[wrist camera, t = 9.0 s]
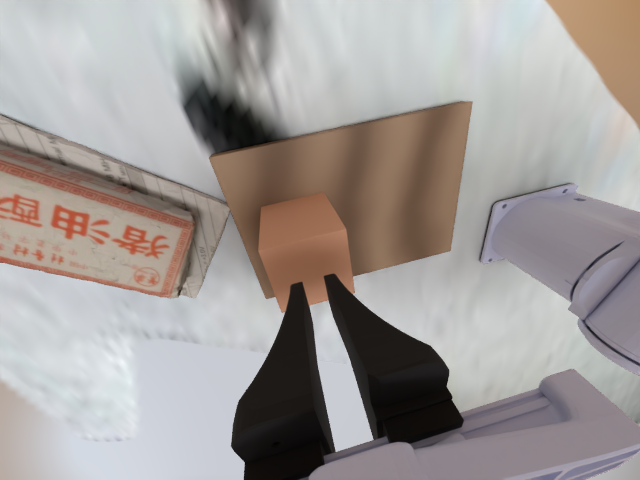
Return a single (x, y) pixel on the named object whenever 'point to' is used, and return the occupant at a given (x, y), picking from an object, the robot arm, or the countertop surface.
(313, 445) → the robot arm
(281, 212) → the orange rectangular block
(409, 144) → the board
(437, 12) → the countertop surface
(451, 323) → the countertop surface
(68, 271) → the packaged product
